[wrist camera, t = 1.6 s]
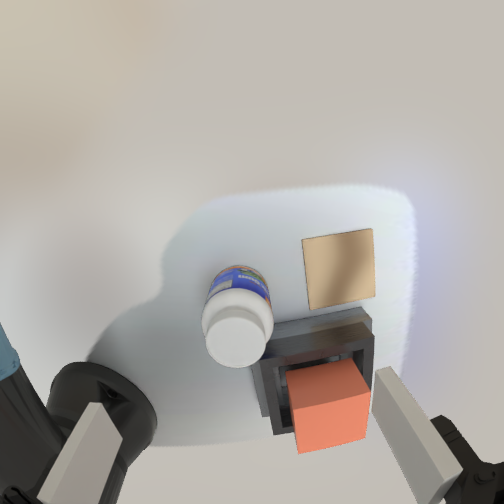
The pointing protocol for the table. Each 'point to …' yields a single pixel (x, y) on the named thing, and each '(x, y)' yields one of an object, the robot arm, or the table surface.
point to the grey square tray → (310, 356)
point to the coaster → (339, 268)
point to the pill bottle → (237, 317)
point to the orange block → (328, 404)
